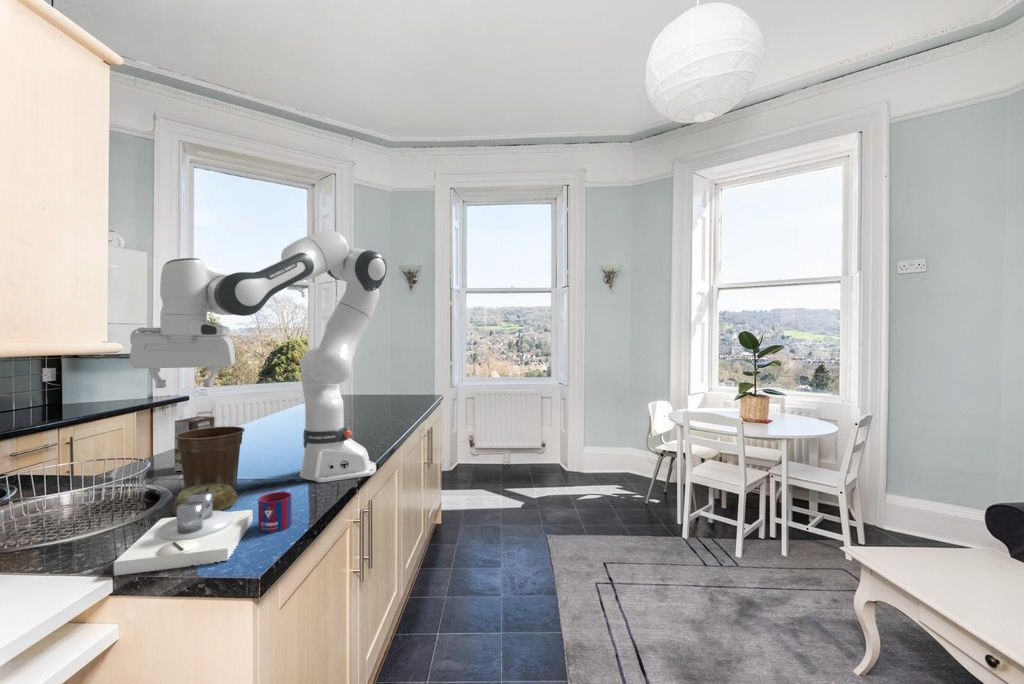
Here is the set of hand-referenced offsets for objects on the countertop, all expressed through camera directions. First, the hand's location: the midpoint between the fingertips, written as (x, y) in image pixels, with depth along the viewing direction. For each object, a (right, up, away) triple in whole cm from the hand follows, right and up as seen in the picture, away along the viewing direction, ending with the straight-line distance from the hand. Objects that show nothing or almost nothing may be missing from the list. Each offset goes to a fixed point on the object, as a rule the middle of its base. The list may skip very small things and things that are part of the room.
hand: (184, 387), depth 106 cm
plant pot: (-8, -31, +21) cm, 38 cm away
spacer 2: (+10, -28, -12) cm, 32 cm away
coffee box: (-25, -30, +40) cm, 56 cm away
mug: (+23, -32, -1) cm, 39 cm away
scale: (+10, -31, -12) cm, 35 cm away
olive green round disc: (0, -31, +8) cm, 32 cm away
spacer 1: (+8, -28, -6) cm, 30 cm away
